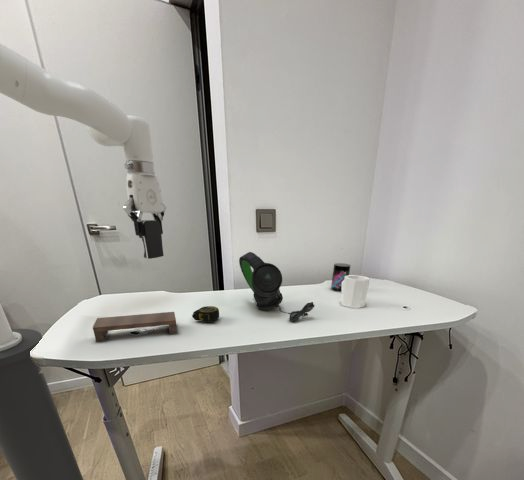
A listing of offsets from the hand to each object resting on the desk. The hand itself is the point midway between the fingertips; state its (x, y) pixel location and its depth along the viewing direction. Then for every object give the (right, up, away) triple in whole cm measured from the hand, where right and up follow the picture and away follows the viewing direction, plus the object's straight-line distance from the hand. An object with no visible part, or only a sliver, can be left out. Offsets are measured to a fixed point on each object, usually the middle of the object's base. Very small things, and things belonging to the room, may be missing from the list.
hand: (149, 234), depth 93 cm
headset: (+39, -24, +6) cm, 46 cm away
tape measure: (+19, -28, -4) cm, 34 cm away
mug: (+69, -20, +15) cm, 73 cm away
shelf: (+2, -32, -14) cm, 35 cm away
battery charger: (0, -7, +3) cm, 7 cm away
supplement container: (+69, -11, +31) cm, 77 cm away
